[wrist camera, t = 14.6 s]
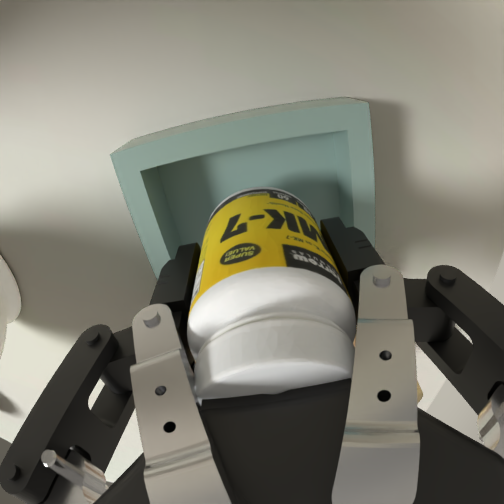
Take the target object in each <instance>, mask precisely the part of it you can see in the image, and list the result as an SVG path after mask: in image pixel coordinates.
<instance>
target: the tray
mask: <svg viewBox="0 0 504 504" xmlns="http://www.w3.org/2000/svg"><path fill="white" fill-rule="evenodd" d="M110 156H111V159H112V162H113V165H114V169H115V172H116V174H117V177H118V180H119V183H120V186H121V189H122V192H123V195H124V197H125V200H126V203H127V206H128V209H129V211H130V214H131V217H132V219H133V222H134V224H135V227H136V230H137V232H138V235H139V237H140V240H141V242H142V245H143V247H144V250H145V252H146V255H147V257H148V260H149V262H150V264H151V267H152V269H153V271H154V274H155V276H156V278H157V281H158V278H159V275H160V272H161V269H162V267H163V266H164V265H165V264H166V263H167V262H168V261H169V260H172V259H175V257H176V253H177V250H178V247H179V246H181V245H186V244H191V243H196V242H197V243H198V244H199V246H200V249H202V245H203V240H204V235H205V230H206V227H207V224H208V221H209V219H210V216H211V215H212V213H213V212H214V210H215V209H216V207H217V206H218V205H219V204H220V203H221V202H222V201H223V200H224V199H226V198H227V197H228V196H230V195H232V194H234V193H236V192H238V191H241V190H244V189H247V188H252V187H274V188H278V189H282V190H285V191H287V192H289V193H291V194H293V195H295V196H296V197H297V198H299V199H300V200H301V201H302V202H303V203H304V204H305V205H306V206H307V207H308V209H309V210H310V212H311V213H312V215H313V217H314V218H315V220H316V222H317V225H318V227H319V229H320V220H321V219H327V218H333V217H339V218H340V219H341V221H342V222H343V224H344V225H345V227H346V228H347V227H353V226H354V227H356V228H357V229H359V230H361V231H362V232H363V233H364V234H365V235H366V237H367V238H368V240H369V241H370V243H371V244H372V246H373V247H374V249H375V181H374V159H373V144H372V131H371V120H370V110H369V103H368V102H364V101H360V100H356V99H352V98H348V97H339V98H329V99H319V100H311V101H303V102H296V103H289V104H282V105H275V106H269V107H263V108H258V109H252V110H247V111H242V112H237V113H232V114H227V115H222V116H218V117H213V118H209V119H205V120H200V121H196V122H192V123H188V124H184V125H181V126H177V127H173V128H169V129H166V130H162V131H159V132H155V133H152V134H149V135H145V136H142V137H139V138H136V139H132V140H131V141H129V142H128V143H126V144H125V145H123V146H122V147H120V148H119V149H117V150H116V151H114V152H113V153H111V154H110ZM320 231H321V230H320Z"/></svg>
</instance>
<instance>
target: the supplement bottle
mask: <svg viewBox="0 0 504 504" xmlns="http://www.w3.org/2000/svg"><path fill="white" fill-rule="evenodd" d="M355 334H356V316H355V311H354V307H353V304H352V301H351V299H350V296H349V294H348V292H347V289H346V287H345V285H344V282H343V280H342V278H341V276H340V274H339V271H338V269H337V267H336V264H335V262H334V260H333V258H332V255H331V253H330V251H329V249H328V247H327V245H326V242H325V240H324V238H323V236H322V234H321V231H320V229H319V227H318V225H317V222H316V220H315V218H314V217H313V215H312V213H311V212H310V210H309V209H308V207H307V206H306V205H305V204H304V203H303V202H302V201H301V200H300V199H299V198H297V197H296V196H295V195H293V194H291V193H289V192H287V191H285V190H282V189H278V188H274V187H252V188H247V189H244V190H241V191H238V192H236V193H234V194H232V195H230V196H228V197H227V198H226V199H224V200H223V201H222V202H221V203H220V204H219V205H218V206H217V207H216V209H215V210H214V212H213V213H212V215H211V216H210V219H209V221H208V224H207V227H206V230H205V235H204V240H203V245H202V249H201V254H200V259H199V264H198V269H197V274H196V279H195V285H194V290H193V295H192V300H191V306H190V311H189V316H188V323H187V339H188V344H189V348H190V351H191V353H192V356H193V357H194V359H195V361H196V364H195V368H194V378H195V379H194V382H195V392H196V395H197V398H198V401H199V403H200V406H201V405H202V399H217V398H229V397H239V396H248V395H256V394H272V395H274V394H279V393H282V392H284V391H287V390H290V389H296V388H302V387H308V386H313V385H319V384H324V383H329V382H334V381H339V380H343V379H348V378H351V380H352V375H353V366H354V357H355V347H354V345H353V342H354V338H355Z"/></svg>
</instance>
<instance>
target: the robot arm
mask: <svg viewBox="0 0 504 504" xmlns="http://www.w3.org/2000/svg"><path fill="white" fill-rule="evenodd" d="M320 230H321V234H322V236H323V238H324V240H325V242H326V245H327V247H328V249H329V251H330V253H331V255H332V258H333V260H334V262H335V264H336V267H337V269H338V271H339V274H340V276H341V278H342V280H343V282H344V285H345V287H346V289H347V292H348V294H349V296H350V299H351V301H352V304H353V307H354V311H355V316H356V325H357V335H356V346H355V357H354V366H353V375H352V380H351V378H348V379H343V380H339V381H334V382H329V383H324V384H319V385H313V386H308V387H302V388H296V389H290V390H287V391H284V392H282V393H279V394H274V395H272V394H256V395H248V396H239V397H229V398H217V399H202V405H201V406H200V403H199V401H198V398H197V395H196V392H195V382H194V379H195V378H194V368H195V364H196V361H195V359H194V357H193V356H192V353H191V351H190V348H189V344H188V339H187V323H188V316H189V311H190V306H191V300H192V295H193V290H194V285H195V279H196V274H197V269H198V264H199V259H200V254H201V249H200V246H199V244H198V243H197V242H196V243H191V244H186V245H181V246H179V247H178V250H177V253H176V257H175V259H172V260H169V261H168V262H167V263H166V264H165V265H164V266H163V267H162V269H161V272H160V275H159V278H158V281H157V285H156V287H155V290H154V293H153V296H152V299H151V302H150V305H149V306H147V307H145V308H143V309H142V310H140V311H139V312H138V313H137V314H136V315H135V317H134V318H133V321H132V327H130V328H127V329H124V330H122V331H119V332H116V333H114V334H113V333H112V331H111V330H110V328H109V327H108V326H106V325H102V324H100V325H95V326H92V327H90V328H89V329H87V330H86V331H84V332H83V333H82V334H81V336H80V337H79V338H78V340H77V341H76V343H75V344H74V346H73V347H72V348H71V350H70V351H69V353H68V354H67V356H66V357H65V359H64V360H63V362H62V363H61V365H60V366H59V368H58V369H57V371H56V372H55V374H54V375H53V377H52V378H51V380H50V381H49V383H48V384H47V386H46V388H45V389H44V391H43V392H42V394H41V395H40V397H39V399H38V400H37V402H36V404H35V405H34V407H33V408H32V410H31V412H30V413H29V415H28V417H27V418H26V420H25V422H24V424H23V425H22V427H21V429H20V431H19V432H18V434H17V436H16V438H15V439H14V441H13V443H12V445H11V447H10V448H9V450H8V452H7V454H6V456H5V458H4V460H3V462H2V464H1V466H0V484H1V486H2V488H3V489H4V490H5V491H6V492H8V493H9V494H11V495H13V496H14V497H16V498H18V499H20V500H22V501H24V502H25V503H26V504H504V305H503V304H501V302H499V301H498V300H497V299H496V298H494V297H493V296H492V295H491V294H490V293H488V292H487V291H486V290H485V289H483V288H482V287H481V286H480V285H478V284H477V283H476V282H475V281H473V280H472V279H471V278H470V277H468V276H467V275H466V274H464V273H463V272H462V271H460V270H459V269H457V268H455V267H452V266H447V265H440V266H436V267H433V268H432V269H431V270H430V271H429V272H428V275H427V279H407V278H403V275H402V274H401V272H400V271H399V270H398V269H396V268H394V267H392V266H389V265H385V264H384V262H383V261H382V259H381V258H380V256H379V255H378V253H377V252H376V250H375V249H374V247H373V246H372V244H371V243H370V241H369V240H368V238H367V237H366V235H365V234H364V233H363V232H362V231H361V230H359V229H357V228H356V227H354V226H353V227H347V228H346V227H345V225H344V224H343V222H342V221H341V219H340V218H339V217H333V218H327V219H321V220H320ZM455 323H456V324H457V325H458V326H459V327H460V328H461V329H463V330H464V331H465V332H466V333H467V334H468V335H469V336H470V338H471V340H472V343H473V344H472V343H470V341H469V340H468V339H467V338H466V337H465V336H463V335H462V334H461V333H460V332H459V331H458V330H457V329H456V328H455V327H454V326H455ZM415 342H416V343H417V345H418V346H419V347H420V348H421V349H422V350H423V352H424V353H425V354H426V355H427V356H428V357H429V358H430V359H431V361H432V362H433V363H434V364H435V365H436V366H437V367H438V369H439V370H440V371H441V372H442V373H443V374H444V375H445V377H446V378H447V379H448V380H449V381H450V382H451V383H452V385H453V386H454V387H455V388H456V389H457V391H458V392H459V393H460V394H461V395H462V396H463V398H464V399H465V400H466V401H467V402H468V404H469V405H470V406H471V407H472V408H473V410H474V411H475V412H476V413H477V415H478V419H477V427H478V431H479V434H478V435H479V439H480V440H481V441H482V442H484V445H482V444H480V443H478V442H477V441H475V440H473V439H471V438H470V437H468V436H466V435H464V434H462V433H461V432H459V431H457V430H455V429H454V428H452V427H450V426H448V425H446V424H445V423H443V422H441V421H440V420H438V419H436V418H435V417H433V416H431V415H429V414H428V413H426V412H425V411H423V410H421V409H420V408H418V407H417V370H416V352H415ZM99 379H101V380H102V381H103V382H104V383H105V385H104V387H103V389H102V391H101V392H100V394H99V396H98V398H97V400H96V401H95V403H94V405H93V407H92V409H91V410H90V409H89V407H88V399H89V396H90V394H91V392H92V391H93V389H94V387H95V385H96V384H97V382H98V380H99ZM134 409H136V415H137V421H138V426H139V432H140V437H141V442H142V447H143V453H142V454H141V455H140V456H139V457H138V458H137V459H136V460H135V462H134V463H133V464H132V465H131V466H130V467H129V468H128V469H127V470H126V471H125V472H124V473H123V474H122V475H121V476H120V477H119V478H118V479H117V480H116V481H115V482H114V483H113V484H112V485H111V486H110V487H109V488H108V486H107V485H106V479H105V476H104V473H105V471H106V469H107V467H108V464H109V462H110V460H111V458H112V456H113V453H114V451H115V449H116V447H117V445H118V443H119V441H120V438H121V436H122V434H123V432H124V430H125V428H126V426H127V424H128V421H129V419H130V417H131V415H132V413H133V411H134Z"/></svg>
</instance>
